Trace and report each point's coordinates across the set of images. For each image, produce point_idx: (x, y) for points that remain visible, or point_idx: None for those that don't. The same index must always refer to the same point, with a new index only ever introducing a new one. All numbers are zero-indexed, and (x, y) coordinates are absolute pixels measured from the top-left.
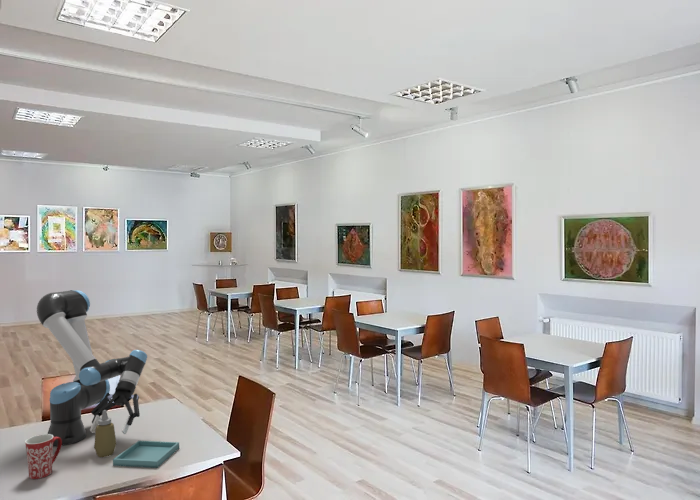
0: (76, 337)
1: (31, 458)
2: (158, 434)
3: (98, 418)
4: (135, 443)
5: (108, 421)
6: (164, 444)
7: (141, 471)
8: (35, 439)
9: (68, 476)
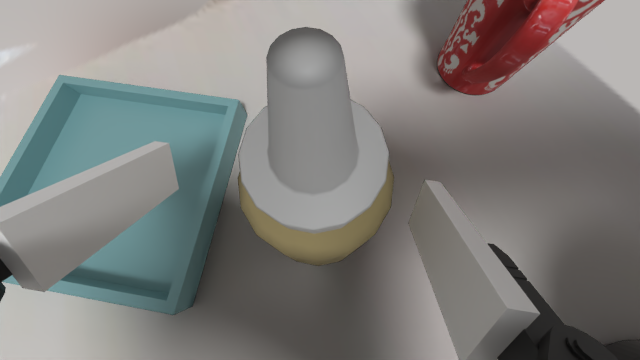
0: None
1: None
2: None
3: (467, 303)
4: (181, 268)
5: (255, 126)
6: None
7: (135, 73)
8: None
9: (365, 53)
